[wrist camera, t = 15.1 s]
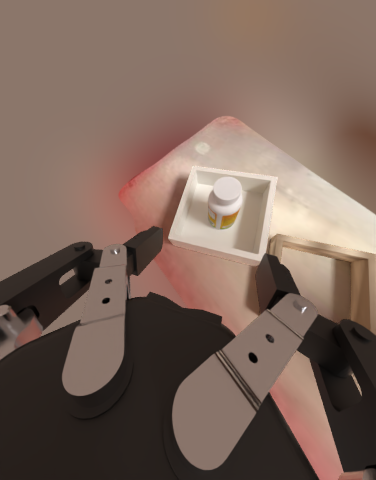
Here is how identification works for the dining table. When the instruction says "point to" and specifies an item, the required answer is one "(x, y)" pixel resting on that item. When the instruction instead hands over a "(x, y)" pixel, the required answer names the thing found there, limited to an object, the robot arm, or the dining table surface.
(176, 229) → the bin
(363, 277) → the frame
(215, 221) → the supplement bottle
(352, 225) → the dining table surface
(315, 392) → the dining table surface
